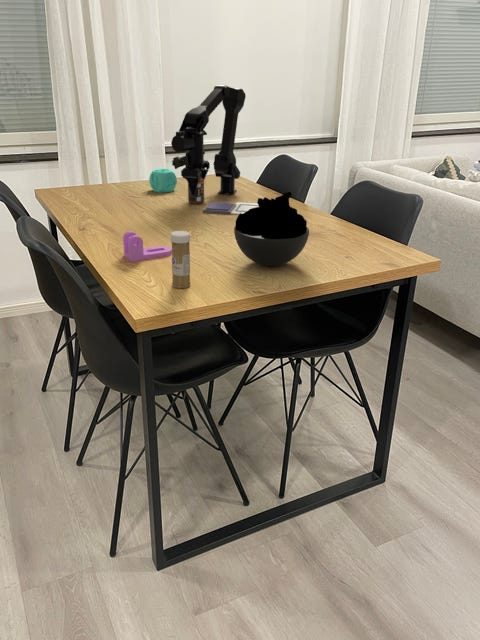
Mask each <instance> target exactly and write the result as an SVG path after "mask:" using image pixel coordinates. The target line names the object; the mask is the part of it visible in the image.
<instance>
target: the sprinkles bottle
mask: <svg viewBox="0 0 480 640" xmlns="http://www.w3.org/2000/svg"><path fill="white" fill-rule="evenodd" d="M190 241H191V234H190V231H189V232H188V231H187V230H175V231H173V232H171V233H170V242H171V248H172V254H171V275H172V283H171V285H172V287H173V288H174V289H187V288H189V287H190V286H191V279H190V278H191V251H190V243H191V242H190Z"/></svg>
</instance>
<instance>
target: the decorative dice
mask: <svg viewBox="0 0 480 640" xmlns="http://www.w3.org/2000/svg"><path fill="white" fill-rule="evenodd" d="M148 180H149V186H150V188H151V190H153V191H154V192H156V193H171V192H173V191H174V190H175V189H176V186H177V184H178V178H177V175H176V173H175V172H174V171H173V170H172V169H169V168H155V169H153V170H152V172H151V173H150V175H149V179H148Z"/></svg>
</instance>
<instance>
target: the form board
mask: <svg viewBox="0 0 480 640" xmlns="http://www.w3.org/2000/svg"><path fill="white" fill-rule="evenodd" d="M235 204H237V206H236V207H235V208H234V210H233V211H232V212H231V214H230V215H236V216H237V215H238V216H239V214H240V213H241V214H243V213H245V212H247V211H248V210H249V209H252V208H255V207H259V206H258V203H257V202H256V203H255V202H254V203H253V202H237V201H236V203H235Z"/></svg>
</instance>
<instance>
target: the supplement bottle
mask: <svg viewBox="0 0 480 640" xmlns="http://www.w3.org/2000/svg"><path fill="white" fill-rule="evenodd" d="M187 194H188V196H187V198H188V199H187V200H188V201H187V202H188V203H189V204H193V205H199V204H203V203H204V202H205V180H204V179H203V178H202V177H201V172H200V179H199V182H198V185H197V188H196V191H195V194H194V195H192V194H191V191H190V188H189V184H188V183H187Z"/></svg>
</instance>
